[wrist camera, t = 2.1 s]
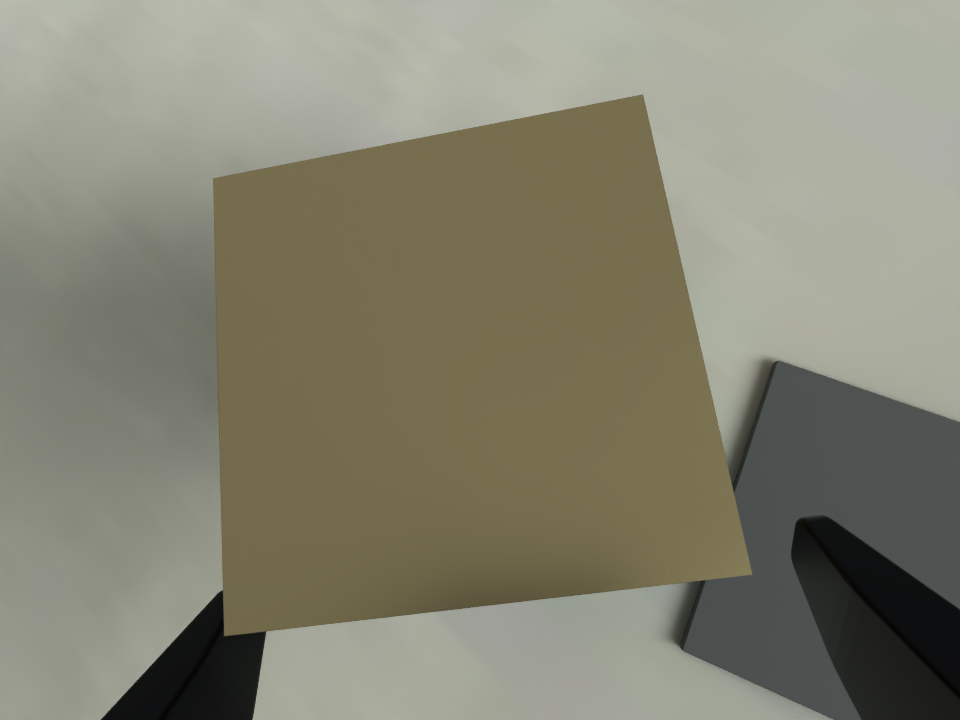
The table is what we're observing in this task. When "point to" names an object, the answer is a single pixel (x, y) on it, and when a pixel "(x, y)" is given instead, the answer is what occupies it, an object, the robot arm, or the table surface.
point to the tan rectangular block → (462, 378)
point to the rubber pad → (844, 498)
